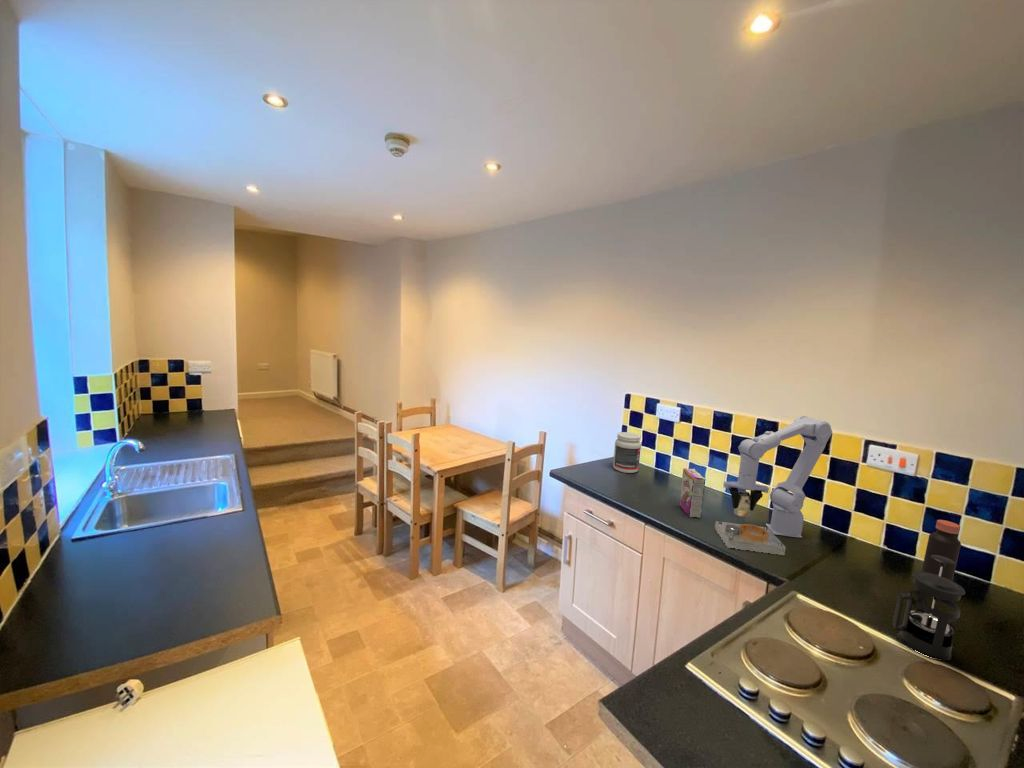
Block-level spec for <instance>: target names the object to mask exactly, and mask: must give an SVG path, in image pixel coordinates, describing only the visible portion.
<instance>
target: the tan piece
mask: <svg viewBox="0 0 1024 768" xmlns="http://www.w3.org/2000/svg"><path fill="white" fill-rule="evenodd" d="M738 492H739V493H740V494H739V497H738V502H737V508H736V509H734V508H733V510H734V511H733V513H734V515H736V516H738V517H741V518H749V517H750V514H751V510H750V508H751V500H752V495H751V494H750V492H749V491H748V490H738Z"/></svg>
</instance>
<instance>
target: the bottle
mask: <svg viewBox="0 0 1024 768" xmlns="http://www.w3.org/2000/svg"><path fill="white" fill-rule="evenodd" d="M935 524H936V525H935V530H936V531H934V532H931V533H930V534H929V535H928V540H927V545H926V548H925V554H924V558H923V562H922V565H921V566H922V567H921V571H920V572H928V573H932V574H935V575H939V572H940V567H941V566H939V564H940V562H938V561H936V560H934V559H932V558H931V555H939V556H943V557H946V558H948V559H951V560H952V561H954V562H955V563H956V565H947V564H945V567H943V568H942V573H941V576H942V577H944V578H947V579H949V580H951V581H953V582H954V578H955V577H954V575H955V572H956V567H957V563H958V559H959V554H960V551H961V546H962V543H961V540H959V538H957V536H959V534H960V529H961V526H960V525H959V524H958V523H955V522H952V521H949V520H944V519H937V520H936V523H935Z"/></svg>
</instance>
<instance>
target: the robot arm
mask: <svg viewBox="0 0 1024 768" xmlns="http://www.w3.org/2000/svg"><path fill="white" fill-rule="evenodd" d="M832 434H833V430H832V427H831V425H830V423H829V422H827V421H825V420H824V421H823V420H821V419H820V420H819V419H815V418H811V417H808V416H805V415H801V416H800V417H798V418H795V419H794V421H793V422H791V423H790V424H788V425H787V426H785V427H783V428H781V429H779V430H778V431H775V432H774V431H772V430H770V431H769V430H766V431H765V432H764V433H763V434H760V435H758V436H754V437H753V438H752V439H750V438H747V439H743V440H742V441H741V442H740V444H739V445H738V447H737V448H738V451H739V457H740V463H739V469H738V476H737V477H738V478H737V481H723V488H725V489H728V490H729V493H730V496H731V502H732V507H733V510H734V509H736V508H737V502H738V497H739V494H740V493H739V490H741V491H750V492H749V494H751V495H752V500H751V508H750V512H751V511H754V509H755V507H756V506H757V503H758V502H759V501H760V499H762V498H763V497H764V495H763V493H765V494H769V499H770V501H771V503H772V507H773V508H772V514H771V520H770V523H765V525H766V526H765V527H767V528H769V529H770V530H771V532H772V533H773V534H774V535H775V536H777V535H778V536H783V537H790V538H791V537H793V538H799V539H800V538H801V539H802V538H803V536H802V532H803V528H804V527H803V526H804V514H803V512H802V511H801V510H802V508H803V507H804V501H805V499H806V498H807V497H806V494H805V493H804V491H803V487H804V486H805V484H806V482H807V480H808V478H809V477H810V475H811V473H812V472H813V471H814V467H815V466H816V464H817V463H818V461H819V459H820V457H821V455H822V453H823V452H824V450H825V448H826V445H827V443H828V441H829V440H830V437H831V436H832ZM799 435H800V436H801V438H802V439H803V440H804V442H805V445H804V447H803V449H802V451H801V452H800V454H799V456H798V458H797V460H796V462H795V463H794V465H793V467H792V468H791V471H790V472H789V474H788V476H787V478H786V480H785V481H782V482H778V483H777V485H776V486H775V487H774V488H773V489H772V490H771V491H770V493H769V490H770V487H768V486H767V485H762V484H757V483H756V482H757V477H758V471H759V470H758V469H759V464H760V459H761V458H763V456H765V453H767V452H768V451H771V450H773V449H775V448H777V447H779V446H781V443H782V442H783V441H786V440H788V439H790V438H793V437H796V436H799Z"/></svg>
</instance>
